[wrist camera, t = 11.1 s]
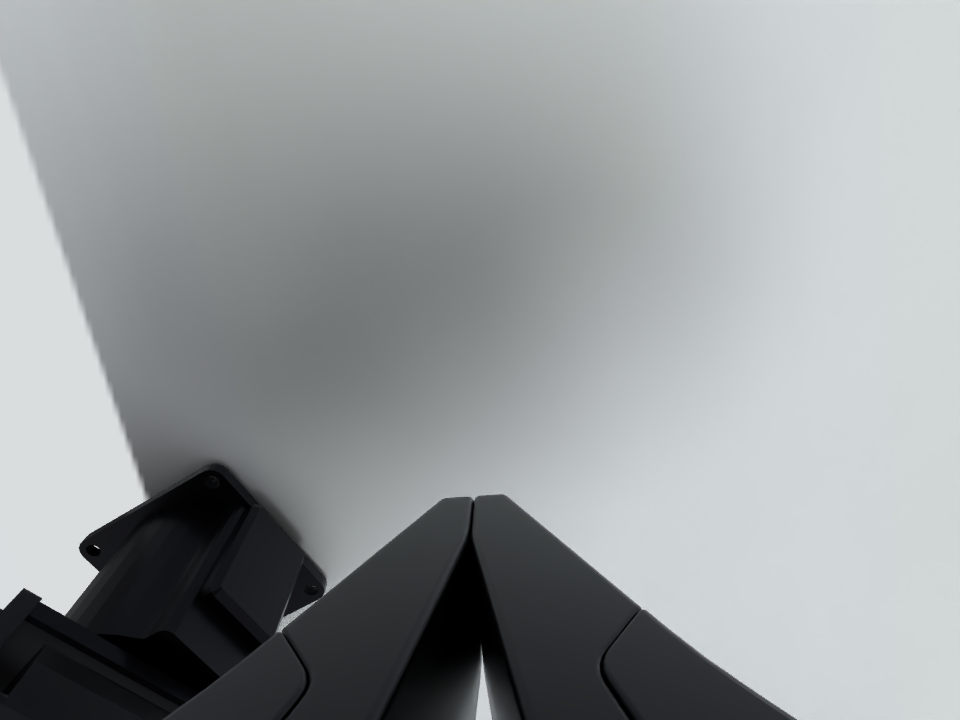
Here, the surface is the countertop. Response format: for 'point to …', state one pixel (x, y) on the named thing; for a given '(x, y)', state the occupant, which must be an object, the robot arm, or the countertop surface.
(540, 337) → the countertop surface
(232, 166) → the countertop surface
